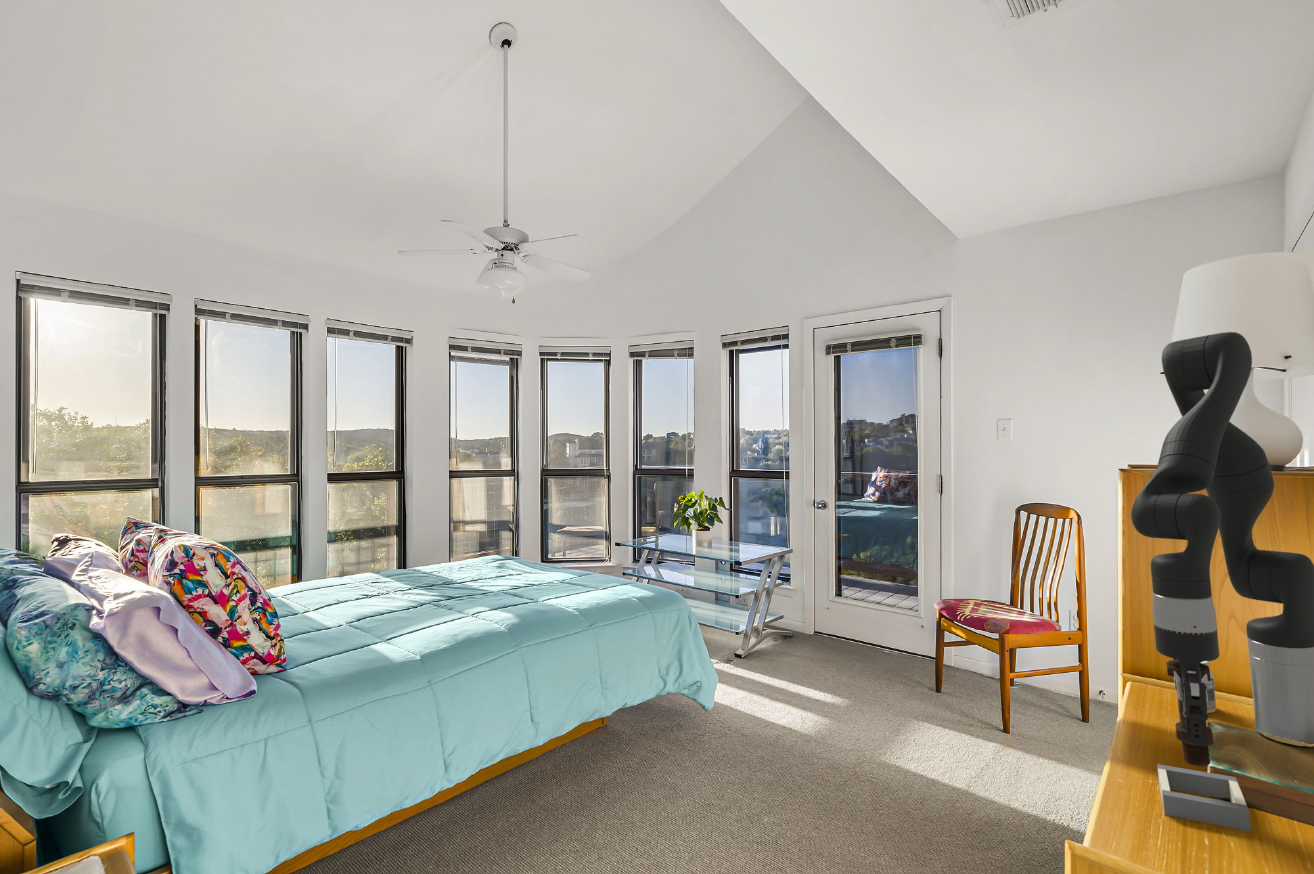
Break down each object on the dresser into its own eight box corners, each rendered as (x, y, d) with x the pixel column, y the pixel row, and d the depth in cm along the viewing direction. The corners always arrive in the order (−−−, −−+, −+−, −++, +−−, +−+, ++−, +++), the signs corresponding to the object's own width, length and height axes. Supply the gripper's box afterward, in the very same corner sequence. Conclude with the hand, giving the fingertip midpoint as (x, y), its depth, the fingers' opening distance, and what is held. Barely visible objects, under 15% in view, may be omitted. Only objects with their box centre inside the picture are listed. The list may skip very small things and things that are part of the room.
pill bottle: (1179, 700, 133) (1175, 652, 133) (1216, 705, 129) (1211, 656, 129) (1179, 710, 128) (1174, 661, 128) (1217, 716, 125) (1212, 665, 125)
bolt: (1220, 775, 94) (1210, 673, 94) (1176, 767, 97) (1166, 668, 97) (1216, 758, 99) (1207, 660, 99) (1174, 751, 102) (1166, 656, 102)
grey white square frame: (1158, 782, 104) (1157, 763, 104) (1237, 796, 99) (1235, 776, 99) (1164, 814, 96) (1162, 794, 96) (1250, 831, 91) (1248, 810, 91)
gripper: (1225, 639, 90) (1236, 761, 90) (1209, 613, 102) (1219, 720, 102) (1157, 634, 94) (1168, 750, 94) (1149, 609, 106) (1159, 713, 106)
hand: (1194, 734), depth 98 cm, fingers closed on bolt, 4 cm apart
